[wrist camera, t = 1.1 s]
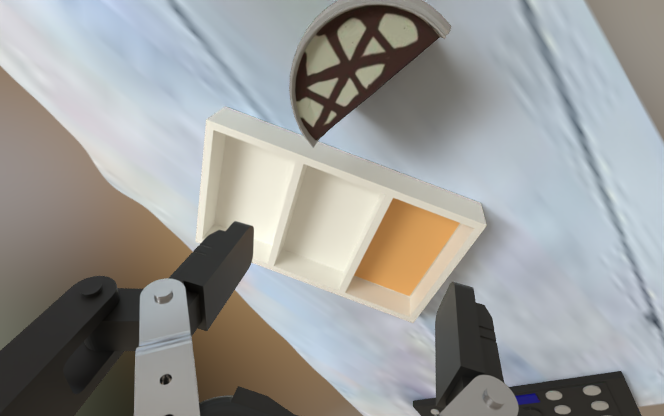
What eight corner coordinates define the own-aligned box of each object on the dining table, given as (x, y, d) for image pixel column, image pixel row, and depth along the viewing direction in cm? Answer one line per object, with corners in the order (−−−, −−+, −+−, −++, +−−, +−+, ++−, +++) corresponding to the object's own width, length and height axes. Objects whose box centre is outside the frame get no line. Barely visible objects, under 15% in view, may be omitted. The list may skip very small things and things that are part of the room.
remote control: (413, 398, 60) (413, 409, 59) (618, 367, 47) (626, 381, 45) (441, 430, 65) (442, 442, 63) (638, 410, 51) (646, 425, 49)
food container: (397, -55, 26) (387, -67, 18) (443, 14, 28) (454, 31, 20) (290, 59, 32) (247, 88, 24) (334, 109, 34) (308, 152, 26)
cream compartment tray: (211, 224, 46) (195, 243, 43) (225, 106, 36) (206, 119, 33) (412, 299, 47) (412, 324, 43) (480, 202, 37) (486, 225, 33)
